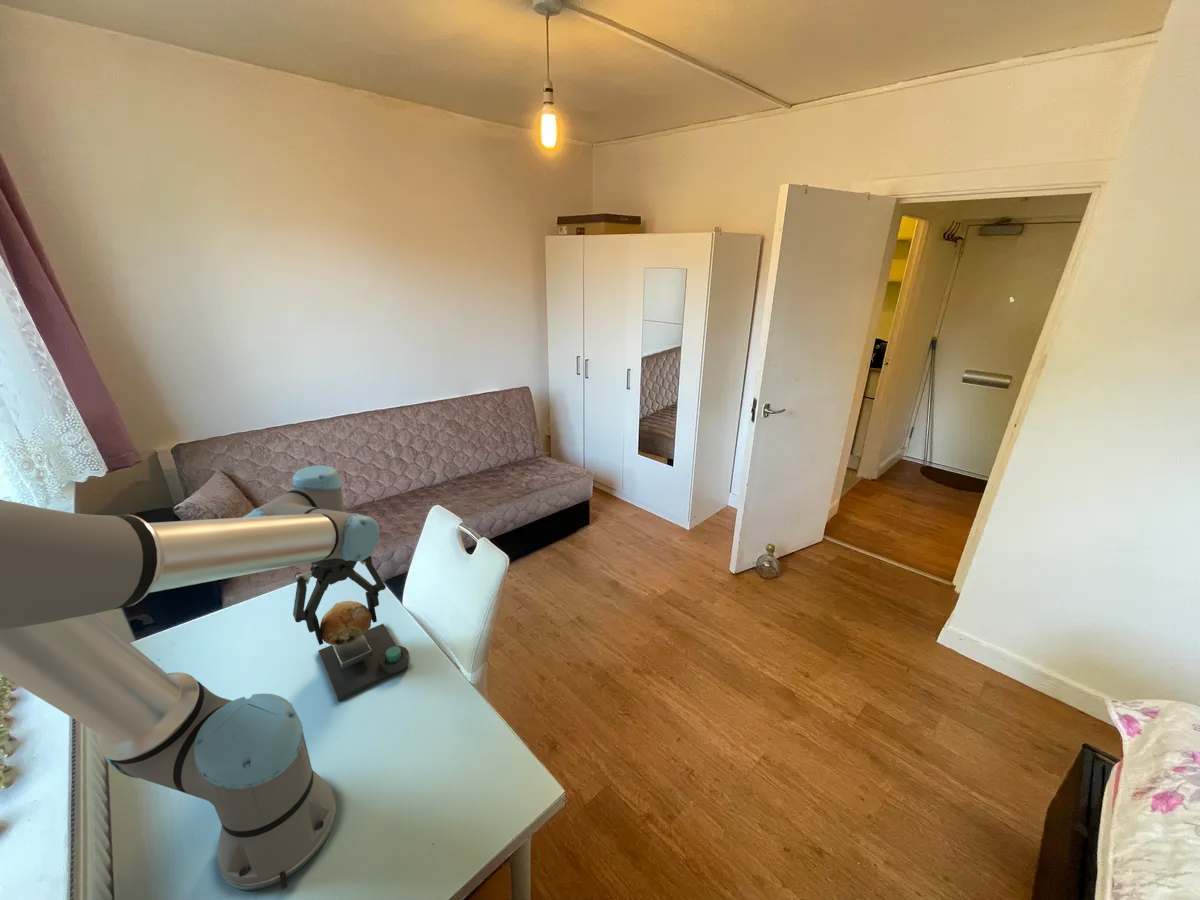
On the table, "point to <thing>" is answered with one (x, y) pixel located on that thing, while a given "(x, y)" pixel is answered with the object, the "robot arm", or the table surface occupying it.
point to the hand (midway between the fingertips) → (347, 629)
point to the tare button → (393, 654)
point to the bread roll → (345, 623)
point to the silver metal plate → (352, 652)
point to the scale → (363, 665)
